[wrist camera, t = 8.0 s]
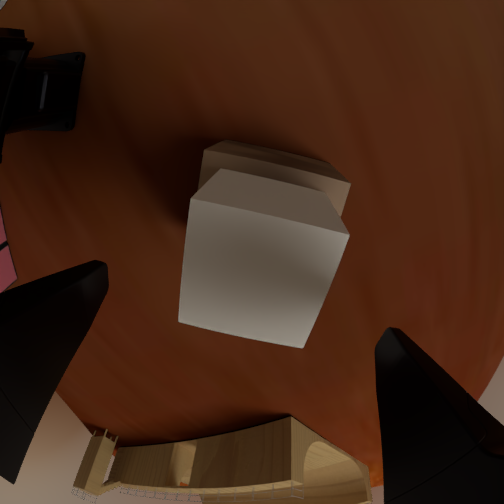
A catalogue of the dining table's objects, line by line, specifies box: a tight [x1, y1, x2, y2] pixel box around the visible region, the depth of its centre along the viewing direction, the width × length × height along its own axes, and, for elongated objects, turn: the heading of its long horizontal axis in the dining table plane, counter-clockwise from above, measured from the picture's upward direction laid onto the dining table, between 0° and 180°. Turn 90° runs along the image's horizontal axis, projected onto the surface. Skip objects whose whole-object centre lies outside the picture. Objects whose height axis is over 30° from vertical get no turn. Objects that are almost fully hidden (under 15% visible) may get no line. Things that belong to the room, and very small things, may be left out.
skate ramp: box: [72, 416, 372, 504], centre depth 34 cm, size 40×35×16 cm
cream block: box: [178, 168, 349, 348], centre depth 12 cm, size 5×5×5 cm
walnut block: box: [198, 140, 351, 217], centre depth 17 cm, size 7×7×6 cm
